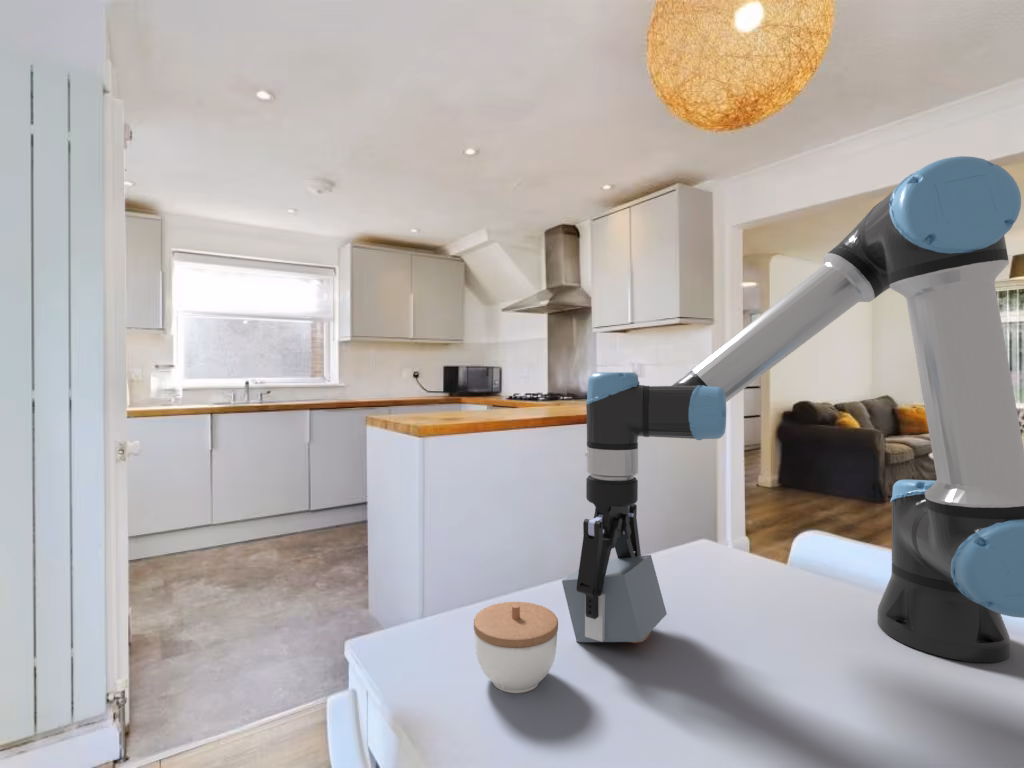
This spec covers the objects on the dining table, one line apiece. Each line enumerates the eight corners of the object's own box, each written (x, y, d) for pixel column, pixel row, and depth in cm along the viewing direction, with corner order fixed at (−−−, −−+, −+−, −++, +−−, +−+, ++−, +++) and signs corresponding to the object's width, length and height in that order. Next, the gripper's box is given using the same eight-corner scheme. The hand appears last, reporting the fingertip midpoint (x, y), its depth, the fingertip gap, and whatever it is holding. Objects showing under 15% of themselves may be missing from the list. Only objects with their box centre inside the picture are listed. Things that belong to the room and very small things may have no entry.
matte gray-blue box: (666, 614, 79) (650, 554, 81) (641, 641, 71) (624, 575, 72) (606, 616, 85) (592, 560, 86) (576, 642, 77) (561, 580, 78)
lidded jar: (561, 705, 62) (561, 626, 62) (469, 705, 62) (469, 625, 62) (555, 657, 73) (555, 589, 72) (477, 656, 73) (477, 588, 73)
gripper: (619, 463, 90) (618, 592, 91) (550, 485, 72) (550, 647, 72) (662, 467, 86) (661, 603, 86) (601, 492, 67) (600, 665, 68)
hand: (611, 623), depth 79 cm, fingers closed on matte gray-blue box, 10 cm apart
